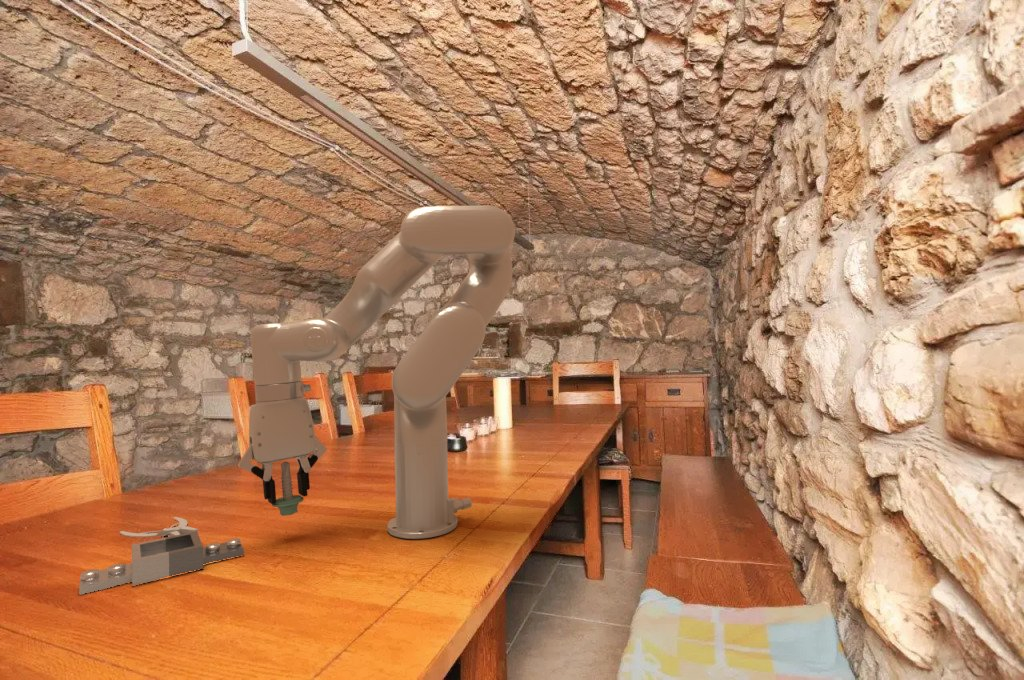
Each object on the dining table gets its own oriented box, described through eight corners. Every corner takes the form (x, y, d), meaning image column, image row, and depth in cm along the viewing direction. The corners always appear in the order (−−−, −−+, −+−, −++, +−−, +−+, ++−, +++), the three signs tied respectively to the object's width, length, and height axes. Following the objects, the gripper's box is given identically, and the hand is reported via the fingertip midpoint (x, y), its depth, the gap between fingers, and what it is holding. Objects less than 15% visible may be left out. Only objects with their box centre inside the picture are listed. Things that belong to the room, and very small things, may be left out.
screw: (266, 517, 86) (289, 508, 90) (288, 518, 84) (310, 509, 89) (262, 464, 86) (285, 458, 91) (284, 464, 84) (306, 458, 89)
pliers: (176, 512, 101) (216, 523, 93) (176, 520, 101) (216, 532, 93) (117, 527, 92) (156, 541, 84) (117, 536, 92) (156, 550, 84)
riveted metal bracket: (236, 543, 86) (236, 523, 86) (245, 559, 79) (245, 536, 79) (82, 578, 73) (82, 554, 73) (78, 600, 67) (78, 573, 67)
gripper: (322, 388, 96) (329, 483, 95) (221, 399, 85) (229, 507, 85) (335, 388, 90) (343, 490, 89) (228, 401, 79) (237, 516, 79)
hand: (287, 497), depth 87 cm, fingers closed on screw, 4 cm apart
